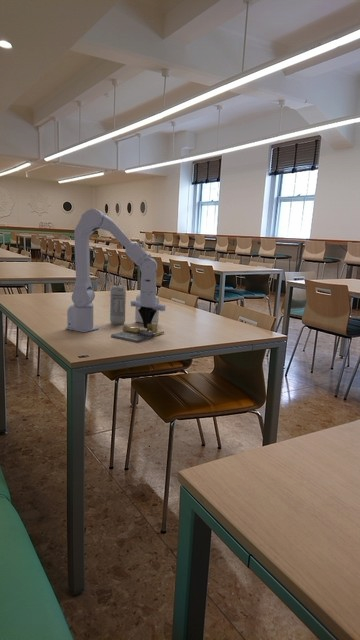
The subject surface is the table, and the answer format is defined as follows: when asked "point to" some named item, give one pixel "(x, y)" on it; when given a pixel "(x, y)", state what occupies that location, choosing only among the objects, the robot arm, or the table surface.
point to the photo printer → (138, 316)
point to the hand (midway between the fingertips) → (147, 327)
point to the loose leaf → (136, 330)
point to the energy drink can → (117, 305)
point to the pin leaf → (135, 336)
